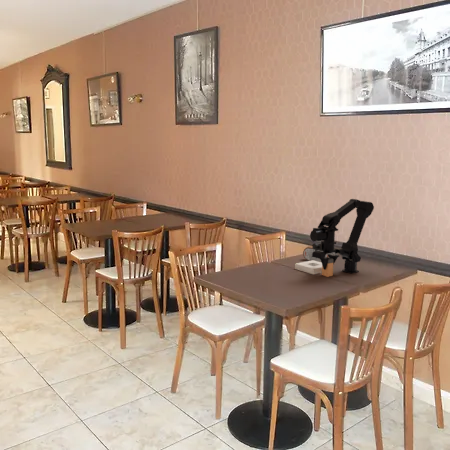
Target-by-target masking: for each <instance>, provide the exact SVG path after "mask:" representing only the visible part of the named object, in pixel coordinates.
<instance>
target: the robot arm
mask: <svg viewBox="0 0 450 450" xmlns="http://www.w3.org/2000/svg"><path fill="white" fill-rule="evenodd" d="M354 209H356V210H355V211H356V217H355V220H354V223H353V227H352V230H350V231H351V232H350V235H349V237H348V240H347V241H346V242H342V245H341V247H337V246H336V247H335V245H336V244H337V242H336V241H335V239H336V238H335V235H336V232H339V228H337V225H339V224H340V222H341V220H342V219H343V218H344V217H346V215H348V214H349V213H351V212H352V211H353V210H354ZM374 209H375V206H374V204H373V202H372V201H365V200H359V199H356V198H351V199H349V201H347V202H346V203H345V204H343V205H342V206H341V207H339V208H338V209H336V210H335V211H333V212H328V213H327V214H325V215H324V216H323V217H322V218H321V221H320V222H319V223H318V226H317V227H313V228H312V230H311V232H310V233H309V237H310V238H309V239H310V240H311V241H312V242H314V243H312V247H313V250H315V251H313V252H312V257H315V258H319V259H320V260H321V262H322V265H323V268H324V270H326V267H327V263H328V260H329V258H332V259H334V261H333V266H334V265H335V263H336V262H337V260H338V258H339V257H340V256H341V258H342V260H344V268H343V269H342V271H341V272H345V273H348V274H354V273H355V274H356V273H359V271H360V270H357V268H358V263H359V262H361V256H360V255H359V254H358V250H359V247H358V243H359V240H360V237H361V234H362V232H363V228H364V226H365V223H366V220H367V219H368V218H369V217H371V215H372V213H373V212H374ZM320 241H321V242H320ZM318 242H320V243H319V244H318ZM318 250H319V251H318ZM322 251H323V252H322ZM327 255H328V257H329V258H328V257H327Z"/></svg>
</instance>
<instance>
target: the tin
mask: <svg viewBox="0 0 450 450" xmlns="http://www.w3.org/2000/svg"><path fill="white" fill-rule="evenodd" d="M312 246H313V245H312ZM312 246H307V247H305V248H304V249H303V252H302V255H303V257H304V259H305V260H306V261H311V260H315V261H318V262H321V260H320V259H319V258H315V257H312V252H313V251H315V250H313V247H312ZM318 251H319V250H318ZM322 252H323V251H322ZM327 257H329V256H328V255H327Z"/></svg>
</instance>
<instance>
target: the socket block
mask: <svg viewBox="0 0 450 450" xmlns="http://www.w3.org/2000/svg"><path fill="white" fill-rule="evenodd" d="M294 269H295V270H298V271H300V272H304V273H307V274H310V275H318V274H322V262H318V261H315V260H311V261H308V260H306V261H300V262H297V263H295V264H294Z"/></svg>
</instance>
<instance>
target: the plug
mask: <svg viewBox="0 0 450 450" xmlns="http://www.w3.org/2000/svg"><path fill="white" fill-rule="evenodd" d="M328 258H329V256H328ZM333 261H334V259H332V258H329V260H328V263H327V267H326V270H324V268H323V265H322V273H321V275H322V276H324V277H327V278H329V277H333V275H334V265H333Z"/></svg>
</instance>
